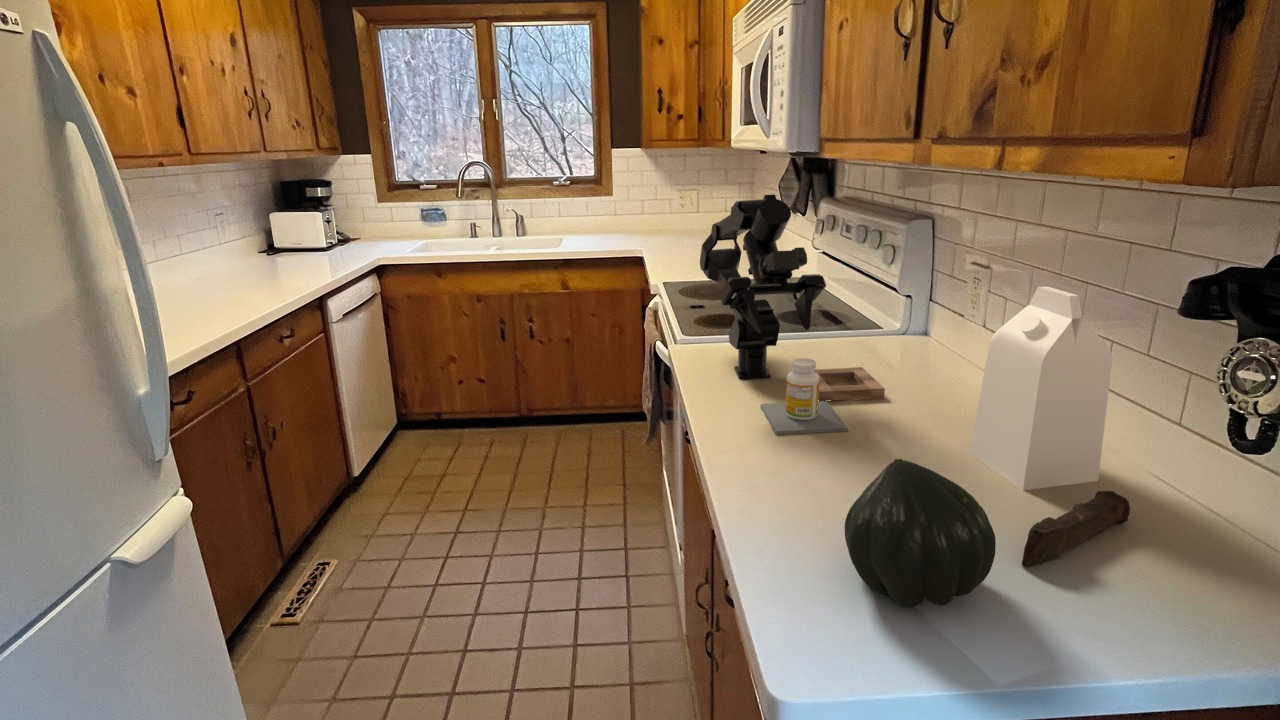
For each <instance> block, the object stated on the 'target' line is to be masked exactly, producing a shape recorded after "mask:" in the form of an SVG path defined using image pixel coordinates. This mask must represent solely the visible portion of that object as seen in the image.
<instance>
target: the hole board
mask: <svg viewBox="0 0 1280 720" xmlns="http://www.w3.org/2000/svg"><path fill="white" fill-rule="evenodd" d="M814 372H815V373H817V374H818V376H819V395H818V400H819V401H826V400H850V401H856V400H855V399H869V400H883V398H884V399H885V391H886V390H885V389H886V388H885V387H884V386H883V385H881V383H880V382H879V381H878V380H876V379H875V378H874V377H873V376H872V375H871V374H870V373H869V372H868V371H867V370H866V369H865V368H863V366H860V367H840V368H822V369H819V368H818V369H817V368H816V370H815V371H814ZM826 382H835V383H850V382H851V383H854V384H851V385H850V384H849V385H848V384H847V385H831V386H830V385H829V383H826ZM880 398H881V399H880Z"/></svg>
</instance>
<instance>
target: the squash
mask: <svg viewBox="0 0 1280 720" xmlns="http://www.w3.org/2000/svg"><path fill="white" fill-rule="evenodd" d="M844 538H845V543H846V547H847V551H848V555H849V557H850V560H851V563H852V565H853V566H854V569H855V570H856V572H857V573H858V576H859V577H860V579H861V580H862V582H863V583H864V584H865V585H866V586H867V587H868V588H870V589H871V590H872V591H873V592H876V593H879V594H883V595H889V596H890V598H891V599H892V600H893V601H894V603H896V604H898V605H899V606H901V607H905V608H913V607H916V606H919V605H920V604H922V603H923V601H924V599H926V601H927V602H929V603H930V604H932V605H936V606H945V605H947V604H949V603H950V602H951V601H952V600H953V599H954V597H961V596H962V597H963V596H966V595H968V594H970V593H971V592H973V591H974V590H975V589H976V587H978V586H980V585H981V584H982V583H983V582H984V581H985V580H986V578H987V577H988V576H989V573H990V572H991V569H992V567H993V563H994V560H995V557H996V547H997V545H996V535H995V532H994V529H993V526H992V524H991V523H990V520H989V518H988V515H987V513H986V511H985V509H984V508H983V507H982V506H981V505H980V503H979V502H978V501H977V499H976V498H975V497H974V496H973V495H972V494H971V493H970V492H969V491H967V490H966V489H965V488H963V487H962V486H961V485H959V484H957V483H955V482H954V481H953V480H951V479H949V478H947V477H945V476H943V475H941V474H939V473H938V472H935V471H934V470H932V469H930V468H927V467H925V466H923V465H920V464H917V463H916V462H915V463H914V462H912V461H908V460H905V459H902V458H900V457H899V458H894V460H893V461H892V462H891V463H889V464H888V465H887V466H885V468H884V469H882V471H881V472H880V473H879V475H878V476H877V477H876V478H875V479H873V480H872V481H871V482H870V484H868V485H867V486H866V487H865V489H864V490H863V491H862V493H861V494H860V495H859V497H858V498H857V499H856V500H855V501H854V502H853V504H852V505H851V507H850V508H849V509H848V513H847V515H846V518H845V521H844Z"/></svg>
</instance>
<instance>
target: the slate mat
mask: <svg viewBox="0 0 1280 720" xmlns="http://www.w3.org/2000/svg"><path fill="white" fill-rule="evenodd" d="M760 409H761V412H764V413H763V414H765V415H764V417H765V418H766V420H767V422H768V421H769V422H768V424H769V423H770V424H769V425H771V426H770V427H771V429H772V431H773V433H774V434H775V435H776V434H781V435H794V434H793V433H800V434H815V433H816V432H819V433H833V432H834V433H835V432H836V433H837V432H838V433H839V432H848V431H849V430H848V429H849V428H848V425H847V424H845V422H844V421H843V420H842V419H841V417H840V416H839V415H838V413H837V412H836V411H835V410H834V409H833V407H832V406H831V405H830V403H829V402H827V401H818V414H817V416H816V417H815V418H813V419H811V420H796V419H793V418H790V417H788V416H787V414H786V402H778V403H777V402H776V403H773V402H772V403H760ZM814 432H815V433H814ZM816 434H817V433H816ZM776 436H777V435H776Z"/></svg>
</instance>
